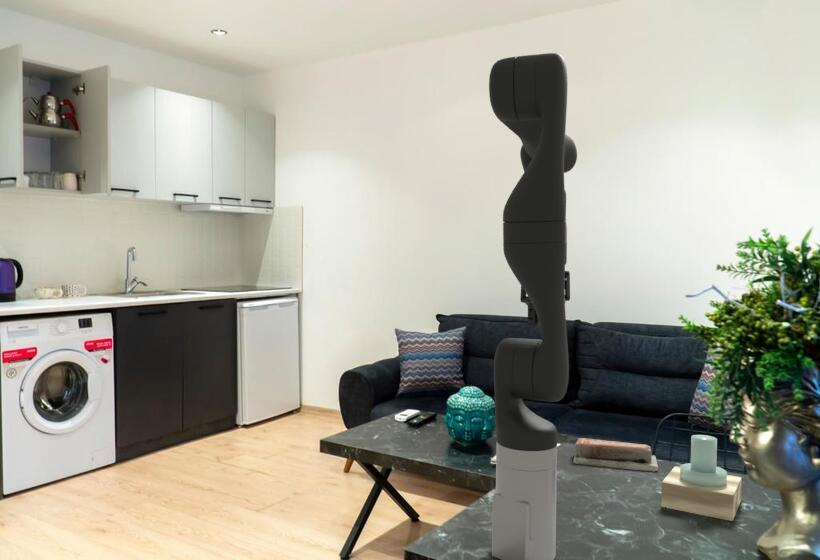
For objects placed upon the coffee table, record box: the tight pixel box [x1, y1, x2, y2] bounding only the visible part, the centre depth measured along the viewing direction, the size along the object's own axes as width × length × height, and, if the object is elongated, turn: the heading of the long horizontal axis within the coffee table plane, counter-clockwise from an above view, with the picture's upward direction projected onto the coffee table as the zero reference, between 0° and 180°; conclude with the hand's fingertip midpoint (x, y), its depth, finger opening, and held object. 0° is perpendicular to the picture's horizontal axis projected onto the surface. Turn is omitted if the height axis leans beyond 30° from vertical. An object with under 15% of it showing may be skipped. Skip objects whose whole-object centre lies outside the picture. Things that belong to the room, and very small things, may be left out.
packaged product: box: [573, 437, 659, 472], centre depth 149 cm, size 18×5×10 cm
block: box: [660, 465, 743, 522], centre depth 123 cm, size 12×12×5 cm
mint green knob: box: [679, 434, 728, 487], centre depth 123 cm, size 8×8×8 cm
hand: (545, 324), depth 127 cm, fingers open, 8 cm apart
